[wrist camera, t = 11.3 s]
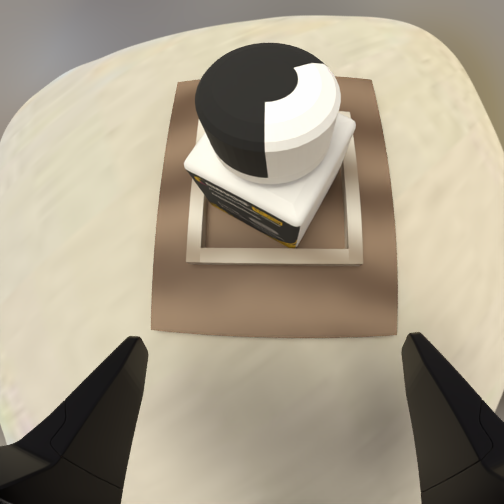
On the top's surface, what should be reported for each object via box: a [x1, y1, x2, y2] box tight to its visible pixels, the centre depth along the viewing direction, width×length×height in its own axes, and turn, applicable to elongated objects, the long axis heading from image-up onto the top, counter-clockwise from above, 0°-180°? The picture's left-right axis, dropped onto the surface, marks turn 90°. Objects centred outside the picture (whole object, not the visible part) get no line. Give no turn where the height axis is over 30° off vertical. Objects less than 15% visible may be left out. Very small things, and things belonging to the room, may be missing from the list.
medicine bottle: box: [184, 43, 356, 249], centre depth 16 cm, size 7×7×12 cm
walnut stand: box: [151, 76, 398, 338], centre depth 22 cm, size 22×18×2 cm
